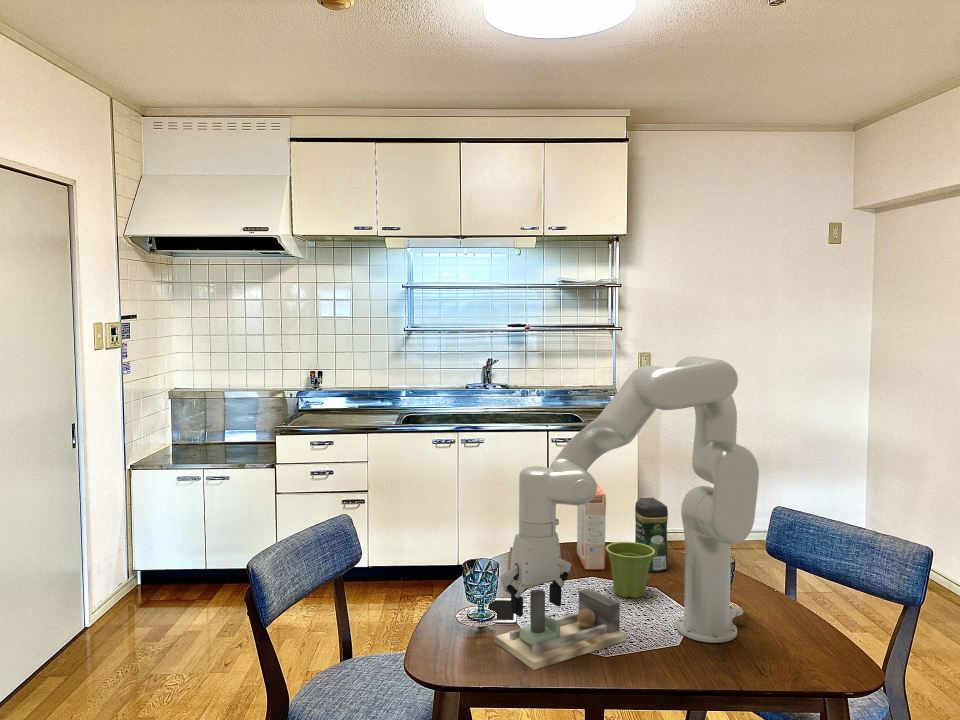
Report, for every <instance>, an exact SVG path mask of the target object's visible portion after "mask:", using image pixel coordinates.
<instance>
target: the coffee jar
mask: <svg viewBox="0 0 960 720" xmlns="http://www.w3.org/2000/svg"><path fill="white" fill-rule="evenodd" d="M634 516H635V517H634V519H635V530H634V531H635V543H641V544H645V545H648V546H650V547H652V548H653V549H654V550H655V553H654V554H653V555H652V560H651V563H650V566H649V571H648V572H652V573H659V572H662V571H665V570H667V569H668V520H669V519H668V518H669V512H668V506H667V505H666V504H664V503H663V502H662V501H659V500H657V499H656V498H655V497H641V498H639V499H638V500H636V502H635V509H634Z"/></svg>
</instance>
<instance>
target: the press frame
mask: <svg viewBox="0 0 960 720" xmlns="http://www.w3.org/2000/svg"><path fill="white" fill-rule="evenodd" d="M620 611H621V610H620V602H619V601H616V600H615V599H612V598H611V597H608V596H606V595H604V594H602V593H600V592H598V591H595V589H592V588H590V587H589V588H585V589H582V590H581V589H580V590H578V611H577V612H573V613H569V614H567V615H562V616H560V617H556V618H553V619H554V620H556V621H558V622H560V638H556V639H553V640H550V641H546V642H543V643H540V644H536V645H533V646H531V645H530V644H528V643H527V642H525V641H524V640H522V639H521V638H520V628H517V629H514V630H510V631H509V632H505V633H502V634H501V633H500V634H498V635H495V636H494V640H495V641H494V643H495V645H498V646H499V647H500V648H502V649H503V650H505V651H506V652H507V653H509V654H510V655H512V657H515V658H516V659H518V660H519V661H521V663H523V664H525V665H526V666H528V667H529V668H531V669H532V670H533V671H536V670H540V669H541V668H546V667H548V666H552V665H554V664H558V663H560V662H563V661H566V660H570V659H572V658H576V657H579V656H583V655H586V654H588V653H589V654H590V653H592V652H594V651H598V650H601V649H603V648H607V647H610V646H613V645H616V644H619V643H622V642H625V641H627V633H626V632H624V631H622V630H620V614H621V613H620Z"/></svg>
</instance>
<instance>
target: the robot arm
mask: <svg viewBox="0 0 960 720" xmlns="http://www.w3.org/2000/svg"><path fill="white" fill-rule="evenodd" d="M738 379H739V378H738V374H737V371H736V370H735V368H734V366H732V365H731V364H730V363H729V362H727V361H724V360H722V359H718V358H717V359H716V358H710V357H709V358H708V357H702V356H687V357H684V358H681V359H680V360H678V362H677V363H676V365H675V366H673V367H664V366H657V365H648V364H647V365H642V366H639V367H637V368H636V369H634V371H632V372H631V374H630V375H629V376H628V377H627V379H626V380H625V382H623V384H621V386H620V388H619V389H618V391H617V392H616V393H615V395H614V396H613V397H612V398H611V400H610V401H609V402H608V404H607V405H606V406H605V407H604V409H603V410H602V411H601V413H600V414H599V415H598V416H597V417H596V418H595V419H593V420H592V421H591V422H590V423H588V424H587V425H586V426H584V427H583V429H581V430H580V431H579V432H577V433H576V434H575V435H574V436H572V437H571V439H570V440H569V441H568V442H567V443H565V445H564V447H563V448H562V449H561V450H560V452H559V453H558V455H556V456H555V458H554V460H553V461H552V462H551V464H550V466H549V467H547V466H537V465H536V466H535V465H534V466H528V467H525V468H523V469H521V471H520V473H519V479H518V484H519V485H518V486H519V488H518V490H519V491H518V492H519V493H518V498H519V499H518V533H516V534H514V540H513V545H512V547H513V549H512V557H511V568H510V569H509V570H508V569H507V570H506V571H505V572H504V573H503V574H502V575H500V577H499V579H500V581H501V583H502V585H503V588H504V589H505V591H506V590H507V591H508V592H507V591H506V592H507V593H508V594H510V597H511V610H512V612H513V613H514V614H516V615H517V617H519V618H520V617H522V616H523V615H524V598H523V596H521V595H522V594H523V592H524V591H525V590H526V589H525V588H526V587H528V586H533V585H536V586H538V585H537V584H539V585H541V584H542V583H543V584H545V583H549V582H551V583H549V589H548V591H549V594H548V595H549V597H548V598H549V599H548V601H549V603H551V604H553V605H554V606H556V607H561V606H562V588H563V587H564V586H565V581H566V580H567V578H568V577H569V572H570V570H571V568H572V565H573V564H572V562H569V561H567V560H565V559H562V557H561V554H562V553H561V547H560V540H559V535H558V532H557V531H556V527H557V526H559V524H560V520H559V519H558V518H557V516H556V513H557V509H556V508H557V505H558V504H559V505H566V506H576V507H578V505H584V504H587V503H589V502H590V501H591V500H592V499H593V498H594V497H595V495H596V492H597V484H598V483H597V481H596V479H595V478H594V476H593V475H592V473H590V471H588V470H589V468H590V467H591V466H592V465H593V464H594V463H595V462H596V461H597V459H599V458H600V457H601V456H603V455H604V454H606V453H608V452H610V451H612V450H613V451H614V450H615V449H619V448H623V447H624V446H626V445H628V444H630V443H632V441H633V440H634V439H635V438H636V436H637V435H638V433H639V432H640V431H641V430H642V428H643V427H644V426H645V425H646V423H647V422H648V420H650V418H651V416H652V415H653V414H654V413H655V412H656V410H661V411H673V410H682V409H687V408H693V409H694V413H695V423H694V424H695V425H694V426H695V427H694V435H693V436H694V438H693V445H692V446H693V447H692V456H691V457H692V458H691V466H692V467H691V468H692V469H693V472H694V473H695V474H696V476H698V477H699V478H701V479H702V480H704V481H706V482H708V483H710V484H712V485H713V487H712V486H707V485H701V486H700V485H699V486H696V487H693V488H691V489H690V490H688V491H687V493H686V494H685V495H684V497H683V500H682V503H681V508H680V509H681V513H680V514H681V520H682V528H683V533H684V534H683V535H684V587H683V588H684V595H683V596H684V597H683V600H684V601H683V603H684V606H683V607H684V608H683V616H681V617H679V618H678V620H676V628H677V629H676V630H677V631H678V633H680V634H681V635H682V636H683V637H686V638H688V639H691V640H694V641H698V642H702V643H711V644H714V643H715V644H717V643H720V644H721V643H726V642H729V641H732V640H734V639H735V638H736V637H737V636H738V627H737V626H736V625H735V624H734V623H733V620H734V619H735V618H736V617H739V616H742V615H743V614H744V610H743V607H742V606H739V605H738V606H735V607H732V608H731V567H732V565H731V563H732V562H731V561H732V560H731V559H732V556H731V555H732V553H731V545H732V546H733V545H738V544H741V543H742V542H744V541H745V540H746V539H747V538H748V537H749V535H750V534H751V532H752V529H753V527H754V524H755V519H756V518H755V517H756V508H757V500H758V499H757V498H758V490H759V479H760V477H759V476H760V472H759V466H758V462H757V459H756V457H755V456H754V454H753V453H752V452H751V451H750V449H748V448H747V447H745V446H743V445H740V444H737V432H738V431H737V430H738V426H737V425H738V413H737V412H738V411H737V406H736V403H735V399H734V397H733V394H734V392H735V391H736V389H737V388H738V383H739V380H738ZM596 483H597V484H596ZM511 579H512V580H513V581H514V582H513V583H512V585H511V582H510V580H511ZM519 584H520V585H519ZM518 585H519V587H518ZM517 587H518V589H517ZM533 587H534V586H533ZM516 589H517V590H516Z"/></svg>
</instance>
